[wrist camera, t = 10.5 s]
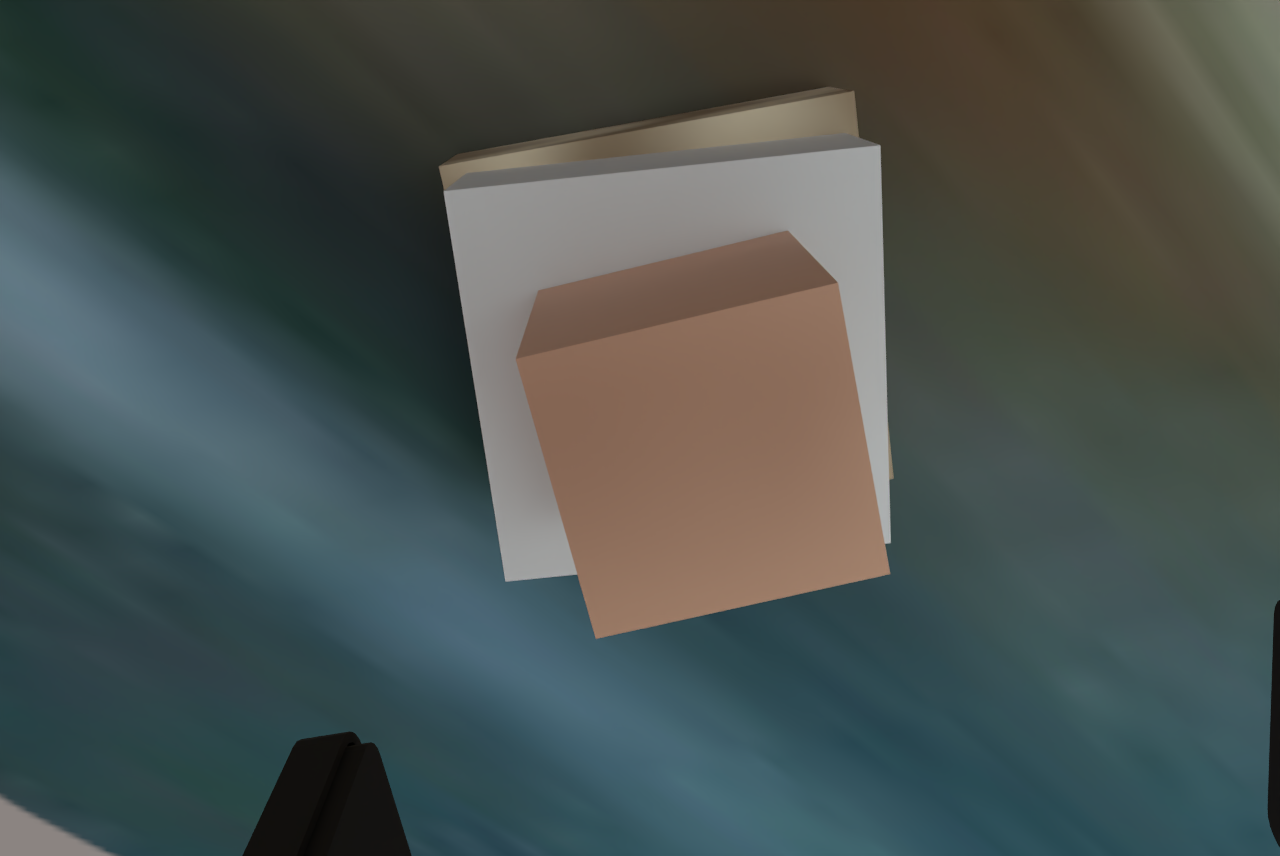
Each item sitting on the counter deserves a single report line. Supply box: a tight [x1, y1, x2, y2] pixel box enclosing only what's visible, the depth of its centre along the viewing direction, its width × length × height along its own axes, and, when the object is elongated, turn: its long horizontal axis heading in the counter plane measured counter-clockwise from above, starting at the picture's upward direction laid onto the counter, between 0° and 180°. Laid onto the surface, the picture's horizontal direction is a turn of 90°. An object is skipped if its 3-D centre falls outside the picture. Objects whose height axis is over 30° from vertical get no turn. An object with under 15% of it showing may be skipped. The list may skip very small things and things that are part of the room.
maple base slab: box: [439, 87, 894, 479], centre depth 32 cm, size 11×11×4 cm
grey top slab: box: [444, 133, 891, 581], centre depth 28 cm, size 10×10×4 cm
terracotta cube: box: [516, 231, 890, 639], centre depth 23 cm, size 6×6×6 cm
